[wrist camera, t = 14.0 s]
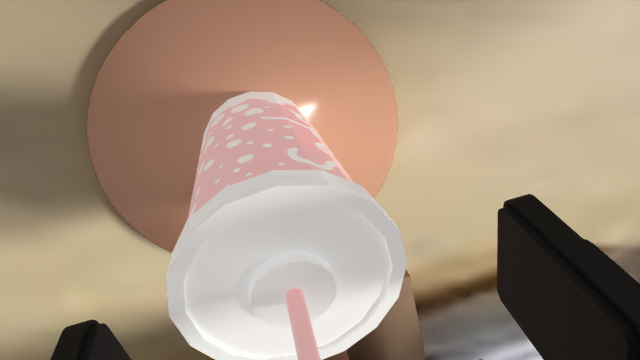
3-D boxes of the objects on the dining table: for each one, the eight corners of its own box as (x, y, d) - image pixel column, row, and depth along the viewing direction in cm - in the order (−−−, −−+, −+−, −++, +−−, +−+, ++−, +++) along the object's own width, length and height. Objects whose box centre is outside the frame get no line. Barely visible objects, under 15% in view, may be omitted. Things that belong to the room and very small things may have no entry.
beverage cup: (351, 160, 20) (556, 493, 8) (237, 225, 20) (275, 634, 9) (285, 42, 17) (465, 308, 5) (151, 122, 17) (23, 547, 5)
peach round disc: (282, -100, 15) (285, -101, 15) (436, 156, 22) (443, 163, 21) (15, 120, 17) (7, 127, 16) (233, 297, 24) (234, 307, 23)
